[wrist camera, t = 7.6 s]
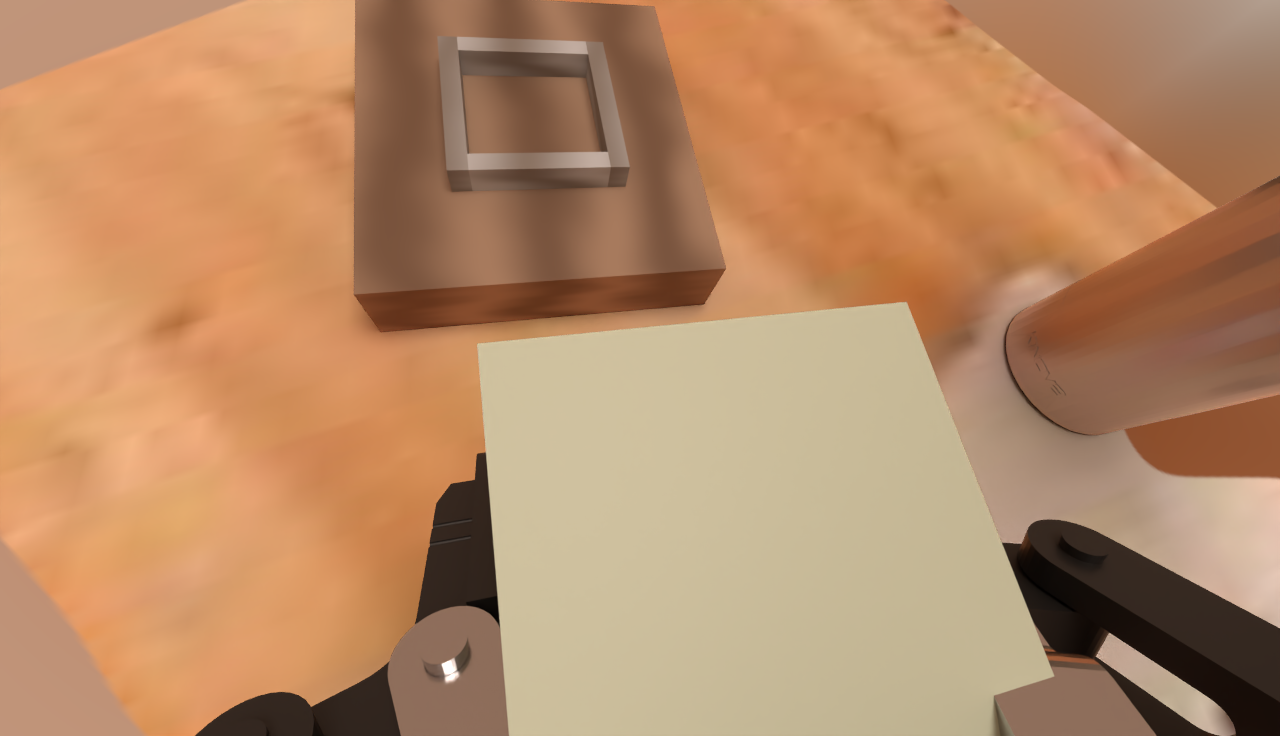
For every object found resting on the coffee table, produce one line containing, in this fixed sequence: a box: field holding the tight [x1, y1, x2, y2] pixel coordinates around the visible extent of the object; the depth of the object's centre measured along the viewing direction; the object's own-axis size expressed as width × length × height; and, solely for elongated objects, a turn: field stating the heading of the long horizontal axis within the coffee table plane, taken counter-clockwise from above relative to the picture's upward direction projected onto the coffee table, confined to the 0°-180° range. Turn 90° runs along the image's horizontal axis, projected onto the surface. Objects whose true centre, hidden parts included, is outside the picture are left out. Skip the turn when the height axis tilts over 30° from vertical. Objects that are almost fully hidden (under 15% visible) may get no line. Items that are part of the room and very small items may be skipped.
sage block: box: [477, 302, 1054, 736], centre depth 9 cm, size 5×5×10 cm
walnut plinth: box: [354, 0, 726, 332], centre depth 29 cm, size 18×20×6 cm
